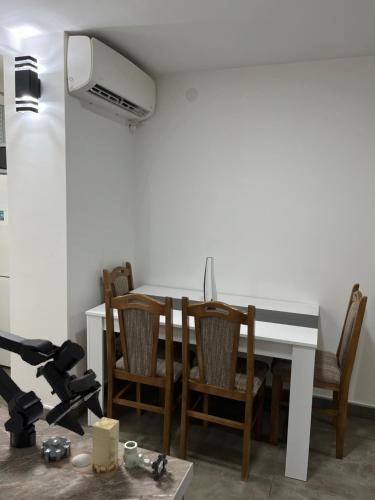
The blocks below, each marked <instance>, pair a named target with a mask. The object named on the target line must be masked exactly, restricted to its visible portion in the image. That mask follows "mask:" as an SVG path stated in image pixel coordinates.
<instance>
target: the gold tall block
mask: <svg viewBox="0 0 375 500" xmlns="http://www.w3.org/2000/svg"><path fill="white" fill-rule="evenodd" d="M119 433H120V420H117V419H113V418H109V417H105V416H104V417H103V418H101V419H99V420H98V421H97V422H95V423H94V424H93V426H92V446H91V447H92V448H91V452H92V470H95V471H96V472H97V474H100V473H106V474H110V472H111V471H113V470H116V469H117V464H118V458H119V438H120V434H119ZM117 470H118V469H117Z"/></svg>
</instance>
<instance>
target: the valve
mask: <svg viewBox="0 0 375 500" xmlns="http://www.w3.org/2000/svg"><path fill="white" fill-rule="evenodd" d="M123 449H124V450H123V453H122V459H123V467H124V468H128V469H132V468H135V467H137V466H138V467H142V465H143V466H145V467H147V468H149V467H151V469H152V472H151V475H152V476H154V477H153V481H156V482H157V481H158V480H159V478H160V477H162V476H163V474H164V473H166V472H167V468H166V466H167V465H168V463H169V460H168V459H167V457H168V455H167V454H165V453H164V452H163V453H162V454H160V453H159V454H158V456H157V459H156V460H152V459H149V458H146V456H145V454H143V453H142V452H140V453H138V442H136V441H133V440H132V441H131V440H129V441H127V442H125V443H124V447H123Z"/></svg>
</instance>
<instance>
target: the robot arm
mask: <svg viewBox="0 0 375 500" xmlns="http://www.w3.org/2000/svg"><path fill="white" fill-rule="evenodd" d="M0 349H2V350H5V351H7V352H11V353H13V354H16V355H17V356H20V359H21V360H22V361H23V362H25V363H26V364H28V365H30V366H32V367H36V366H38V367H36V372H35V373H36V374H35V378H37V379H38V378H40V377H43V378H44V379H45V381H46V382H47V383H48V385H49V387H50V388H51V391H50V394H51V395H52V396H54V395H56V396H57V398H58V400H59V401H60V402H59V403H58V404H56V405H55V406H54V407H53V408H52V409H50V410H49V411H48V412H47V413H46V414H45V421H46V423H47V424H48V425H49V426H51V425H53V426H54V427H56V426H58V427H62V428H63V429H66V430H68V431H71V432H73V433H75V434H77V435H79V436H81V437H83V436H84V435H86V432H85V431H84V428H83V427H82V426H81V424H80V422H79V421H78V420H77V418H76V415H75V408H74V406H75V405H76V404H78V403H79V402H81V401H83V402H82V405H84V406H85V408H87V409H88V410H89V411H90V412H91V413H92V414H94V415H95V417H96V418H98V419H99V420H100V419H101V418H103V417H105V416H104V412H103V410H102V405H101V403H100V399H99V396H100V392H101V391H102V389H101V387H102V386H103V385H102V384H101V383H100V381H99V380H96V379H97V376H98V375H97V373H95V371H94V370H93V369H92V368H88V369H86V370H85V371H83V375H82V376H79V377H77V375H76V374H70V373H69V372H70V371H72V370H73V368H75V367H76V366H77V365H78V364H79V363H80V362H81V361H82V360H83V359H84V358H85V355H86V353H85V349H84V347H82V346H81V345H80V344H79V343H78V342H74V341H72V340H71V339H69V338H68V339H67V340H64V341H63V342H62V344H61V345H56V344H54V343H53V342H52V341H50V340H49V339H42V338H41V339H40V338H36V339H35V338H34V339H31V338H25V337H22V336H20V335H16V334H14V333H11V332H8V331H5V330H2V329H0ZM43 363H45V364H44V365H42V364H43ZM39 365H40V366H39ZM0 396H1V398H2V399H3V400H4V401H5V403H7V411H8V415H9V417H10V418H8V419H7V420H6V421H5V422H4V424H3V426H4V430H5V432H7V433H9V444H10V445H11V446H12V447H13V448H14V449H19V450H20V449H29V448H30V449H31V448H32V447H33V446H35V445H36V444H37V431H36V424H35V423H36V422H39V421H40V418H41V417H42V416H43V414H44V404H43V402H42V398H40V397H39V396H38V395H37V394H36V392H35V391H34V390H29V391H28V392H26V391H23V390H22V389H21V388H20V387H19V384H17V383H16V382H15V381H14V380H13V378H12V377H11V376H10V375H9V374H8V372H7V371H6V370H4V368H3V367H2V366H1V365H0Z"/></svg>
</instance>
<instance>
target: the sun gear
mask: <svg viewBox="0 0 375 500" xmlns="http://www.w3.org/2000/svg"><path fill="white" fill-rule="evenodd" d="M41 443H42V445H41V446H40V447H39V449H40V451H39V454H40V458H41V459H42V458H43V459H44V460H45V462H47V463H49V462H55V461H56V463H57V462H60V460H62V459H64V458H68V457H69V452H70V451H71V448H72V447H71V445H72V443H71V439H67V437H66V436H60V437H56V436H51V438H49V439H47V440H45V439H44V440H43V441H42V442H41ZM47 463H46V464H47Z"/></svg>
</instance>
